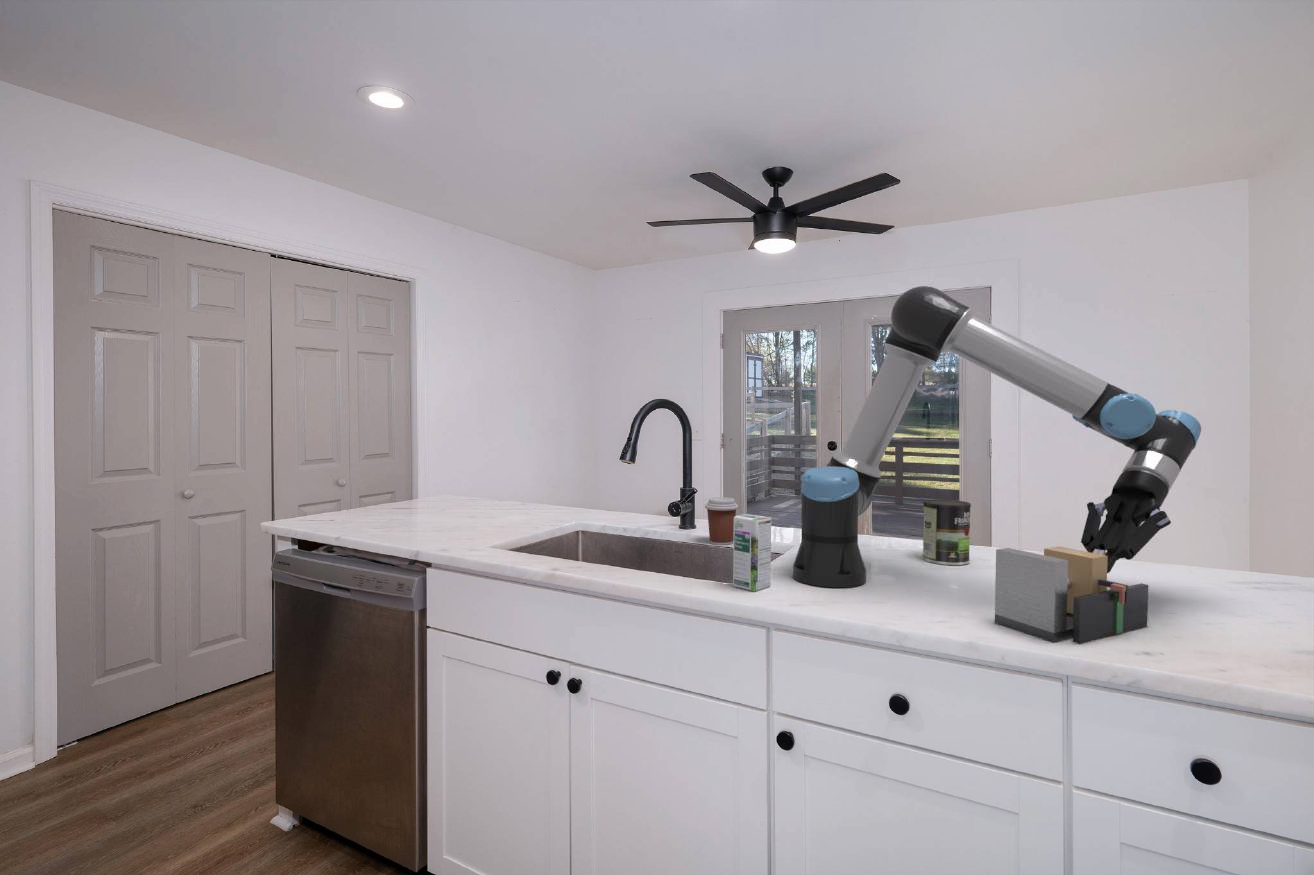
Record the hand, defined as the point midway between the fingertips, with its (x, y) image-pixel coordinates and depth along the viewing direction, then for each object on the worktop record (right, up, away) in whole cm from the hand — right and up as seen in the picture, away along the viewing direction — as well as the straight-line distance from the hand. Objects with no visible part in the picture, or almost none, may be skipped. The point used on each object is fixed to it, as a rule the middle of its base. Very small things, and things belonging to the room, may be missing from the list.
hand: (1086, 583), depth 107 cm
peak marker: (-1, -1, -8) cm, 8 cm away
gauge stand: (-4, -6, -3) cm, 8 cm away
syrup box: (-54, -6, +20) cm, 58 cm away
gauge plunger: (-5, -4, -4) cm, 8 cm away
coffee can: (-5, -5, +42) cm, 42 cm away
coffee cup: (-56, -4, +63) cm, 84 cm away
